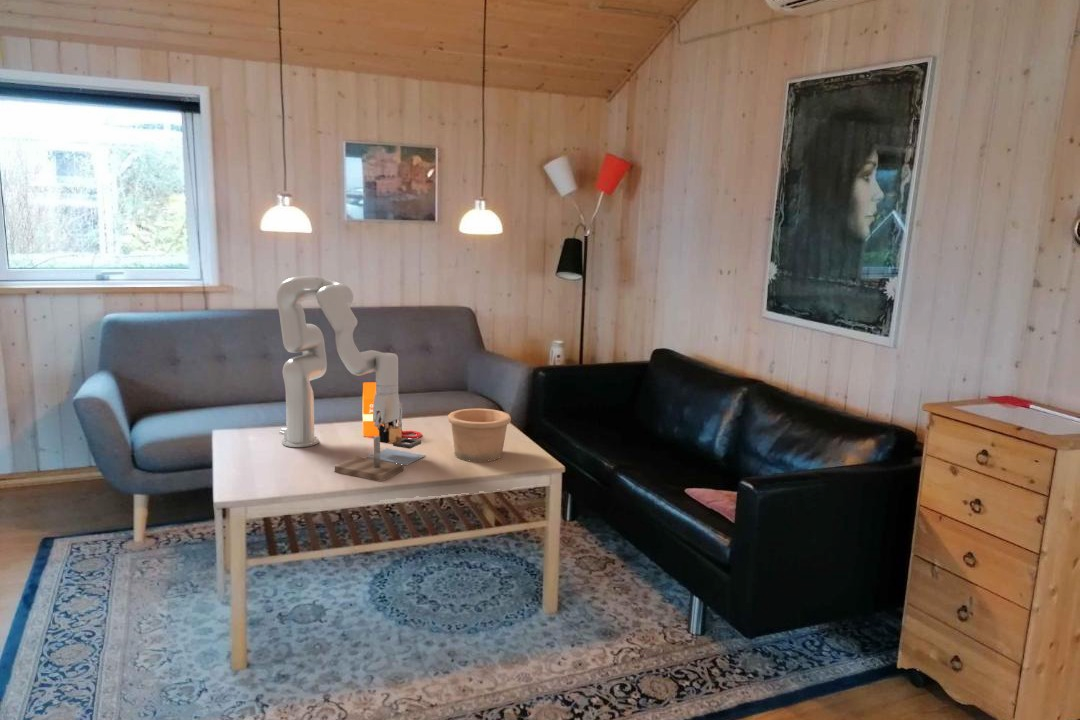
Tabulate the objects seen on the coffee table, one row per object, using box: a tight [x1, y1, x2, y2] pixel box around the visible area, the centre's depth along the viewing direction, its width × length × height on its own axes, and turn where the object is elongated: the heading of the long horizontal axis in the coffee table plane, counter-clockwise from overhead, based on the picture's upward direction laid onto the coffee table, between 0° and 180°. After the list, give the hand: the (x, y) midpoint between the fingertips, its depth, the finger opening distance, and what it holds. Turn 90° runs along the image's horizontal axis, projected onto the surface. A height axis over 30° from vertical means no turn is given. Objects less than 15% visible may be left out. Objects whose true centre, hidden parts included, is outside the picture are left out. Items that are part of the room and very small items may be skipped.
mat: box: [366, 448, 426, 466], centre depth 259 cm, size 16×12×1 cm
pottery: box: [447, 407, 512, 462], centre depth 265 cm, size 22×22×14 cm
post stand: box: [334, 436, 404, 482], centre depth 242 cm, size 18×12×12 cm, turn 67°
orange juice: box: [362, 381, 383, 437], centre depth 286 cm, size 8×9×20 cm
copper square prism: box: [380, 425, 422, 450], centre depth 258 cm, size 14×7×6 cm, turn 67°
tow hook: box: [397, 402, 423, 439], centre depth 285 cm, size 8×13×9 cm
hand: (387, 440), depth 260 cm, fingers closed on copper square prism, 3 cm apart
